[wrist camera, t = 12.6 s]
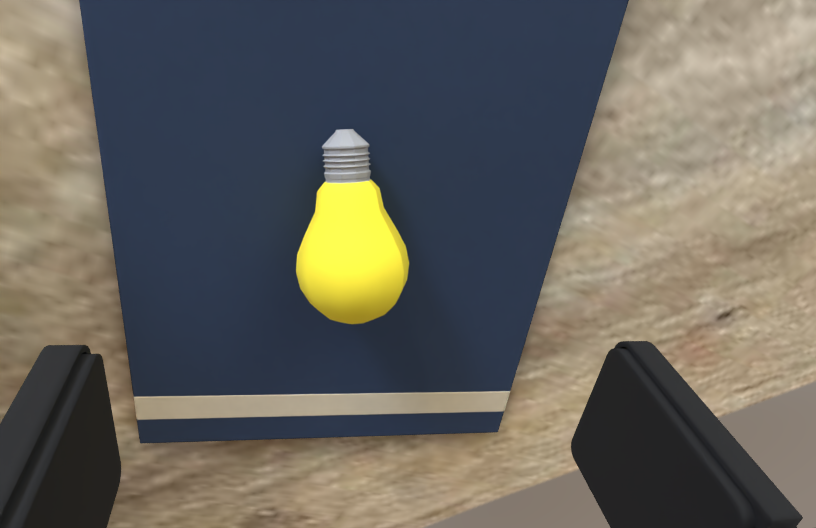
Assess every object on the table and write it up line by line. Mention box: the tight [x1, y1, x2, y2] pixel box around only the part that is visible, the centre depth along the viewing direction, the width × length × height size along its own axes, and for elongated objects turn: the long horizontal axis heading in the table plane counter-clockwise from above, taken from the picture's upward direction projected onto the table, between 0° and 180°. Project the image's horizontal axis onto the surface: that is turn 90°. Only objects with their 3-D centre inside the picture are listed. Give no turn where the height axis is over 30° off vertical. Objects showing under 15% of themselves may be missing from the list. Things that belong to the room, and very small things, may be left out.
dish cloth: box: [79, 0, 629, 443], centre depth 19 cm, size 21×15×1 cm
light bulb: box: [296, 129, 409, 324], centre depth 17 cm, size 3×6×4 cm, turn 179°
